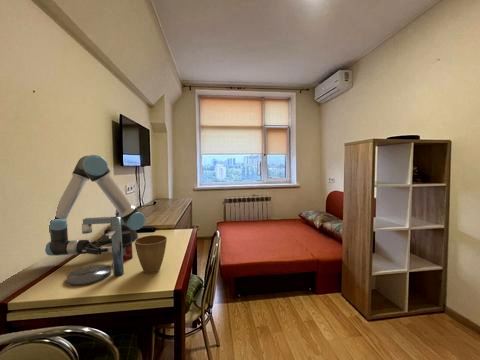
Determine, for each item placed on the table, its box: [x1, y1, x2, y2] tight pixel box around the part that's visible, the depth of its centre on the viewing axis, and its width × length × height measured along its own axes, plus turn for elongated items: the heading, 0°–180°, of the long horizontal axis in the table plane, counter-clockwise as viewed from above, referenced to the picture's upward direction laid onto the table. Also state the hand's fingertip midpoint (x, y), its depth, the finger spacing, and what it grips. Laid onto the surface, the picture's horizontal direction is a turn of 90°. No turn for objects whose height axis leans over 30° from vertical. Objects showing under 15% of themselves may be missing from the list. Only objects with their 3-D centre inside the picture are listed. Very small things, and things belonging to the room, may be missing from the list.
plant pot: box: [134, 234, 168, 275], centre depth 118 cm, size 15×15×16 cm
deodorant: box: [122, 231, 134, 262], centre depth 134 cm, size 6×6×15 cm
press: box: [66, 215, 125, 287], centre depth 111 cm, size 28×19×28 cm
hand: (119, 244), depth 133 cm, fingers open, 13 cm apart
